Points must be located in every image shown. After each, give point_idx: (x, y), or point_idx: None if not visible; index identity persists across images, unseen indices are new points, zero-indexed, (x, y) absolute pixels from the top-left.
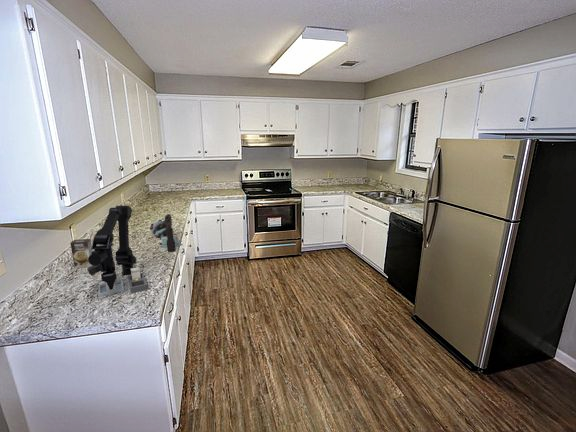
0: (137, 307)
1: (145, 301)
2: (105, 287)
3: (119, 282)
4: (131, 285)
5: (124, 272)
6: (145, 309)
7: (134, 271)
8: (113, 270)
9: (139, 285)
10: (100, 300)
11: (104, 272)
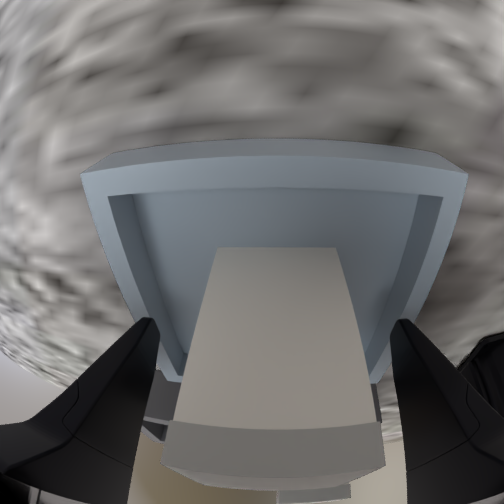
0: (20, 342)
1: (62, 373)
2: (391, 234)
3: (369, 360)
4: (159, 422)
5: (492, 365)
6: (17, 352)
7: (278, 498)
8: (416, 496)
9: (148, 432)
10: (61, 178)
11: (494, 463)
